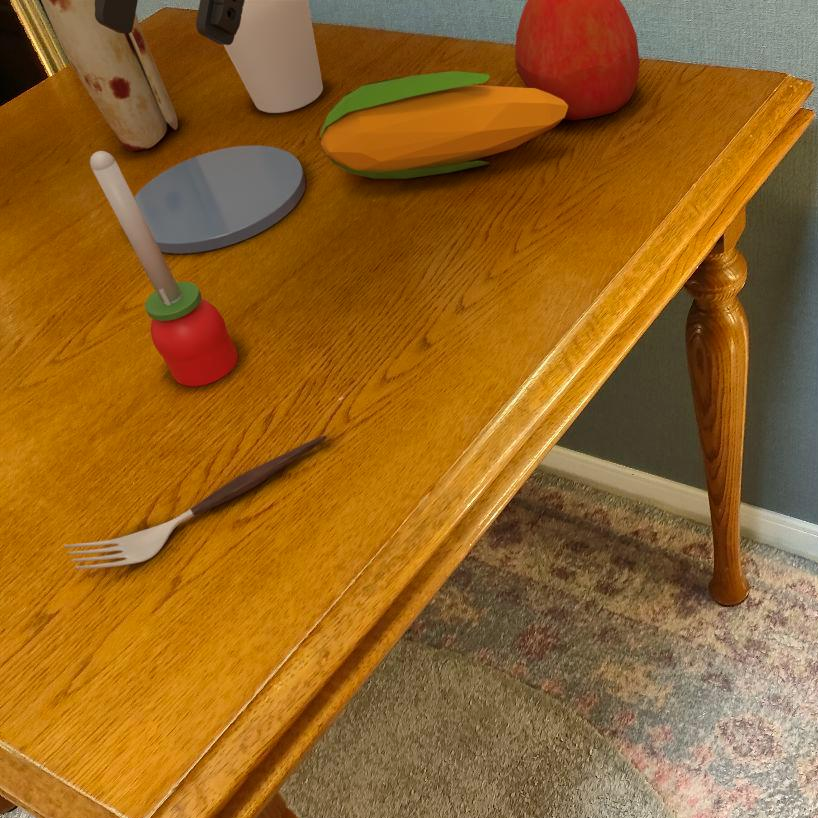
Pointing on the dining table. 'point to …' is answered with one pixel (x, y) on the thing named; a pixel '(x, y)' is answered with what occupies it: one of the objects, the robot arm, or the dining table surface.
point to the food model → (114, 73)
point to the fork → (185, 515)
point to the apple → (579, 54)
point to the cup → (277, 54)
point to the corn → (433, 124)
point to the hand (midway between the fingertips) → (161, 33)
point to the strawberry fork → (169, 294)
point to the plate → (220, 197)
